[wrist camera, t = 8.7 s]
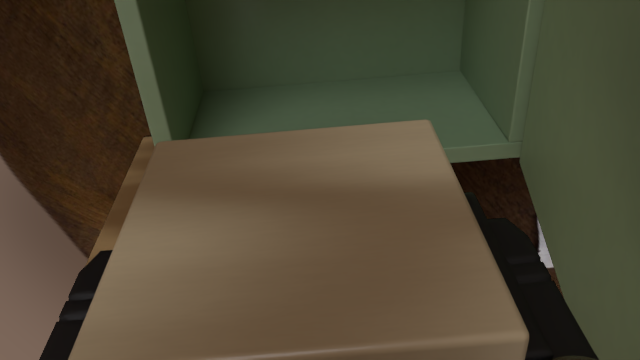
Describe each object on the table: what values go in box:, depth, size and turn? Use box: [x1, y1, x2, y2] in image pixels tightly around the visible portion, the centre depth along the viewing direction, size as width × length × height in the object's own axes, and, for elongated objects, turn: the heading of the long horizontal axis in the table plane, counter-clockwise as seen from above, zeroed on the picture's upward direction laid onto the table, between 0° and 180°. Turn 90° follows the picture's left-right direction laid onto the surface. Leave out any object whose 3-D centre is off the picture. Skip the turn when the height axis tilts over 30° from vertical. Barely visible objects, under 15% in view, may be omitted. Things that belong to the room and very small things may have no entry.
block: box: [68, 119, 529, 360], centre depth 8 cm, size 5×5×5 cm
